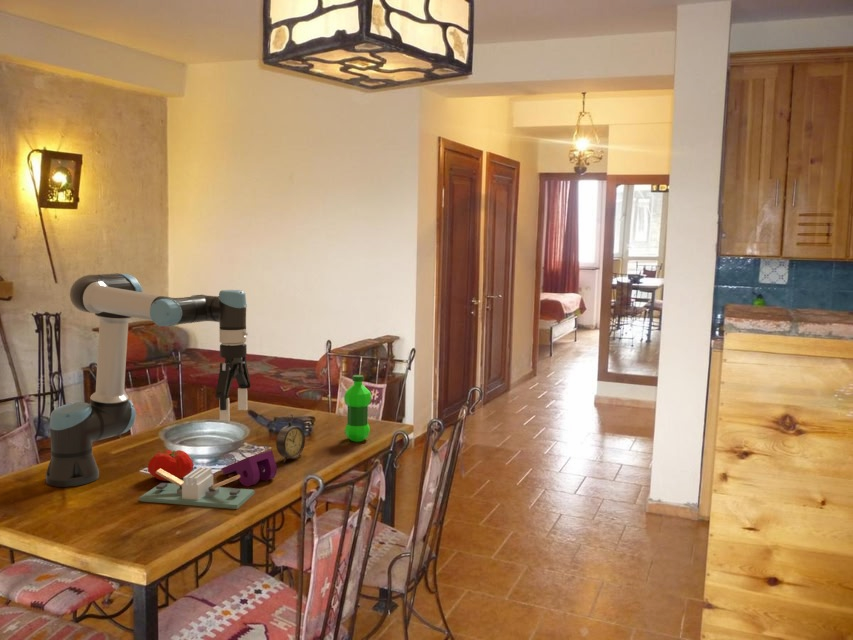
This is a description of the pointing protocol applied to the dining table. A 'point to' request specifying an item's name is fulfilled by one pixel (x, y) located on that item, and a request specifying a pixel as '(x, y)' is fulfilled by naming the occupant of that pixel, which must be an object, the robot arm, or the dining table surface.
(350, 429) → the plastic bottle
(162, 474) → the strap
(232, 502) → the board
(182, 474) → the tomato
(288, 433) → the alarm clock
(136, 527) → the dining table surface
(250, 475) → the mounting bracket
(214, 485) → the strap
